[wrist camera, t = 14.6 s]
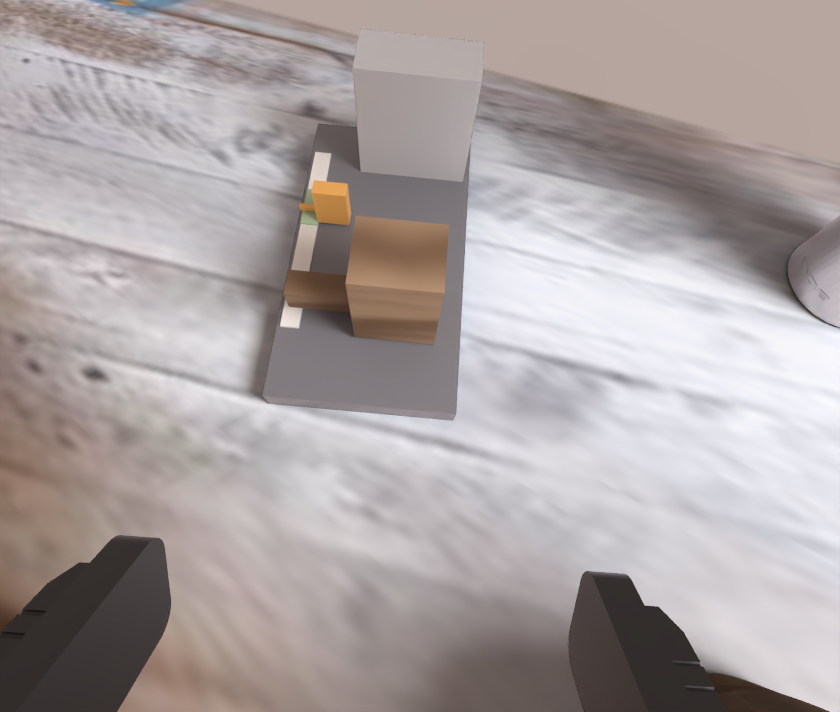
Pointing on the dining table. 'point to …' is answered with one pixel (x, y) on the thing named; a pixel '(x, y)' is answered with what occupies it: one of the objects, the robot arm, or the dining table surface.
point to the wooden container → (755, 697)
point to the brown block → (383, 281)
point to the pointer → (330, 202)
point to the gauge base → (392, 199)
